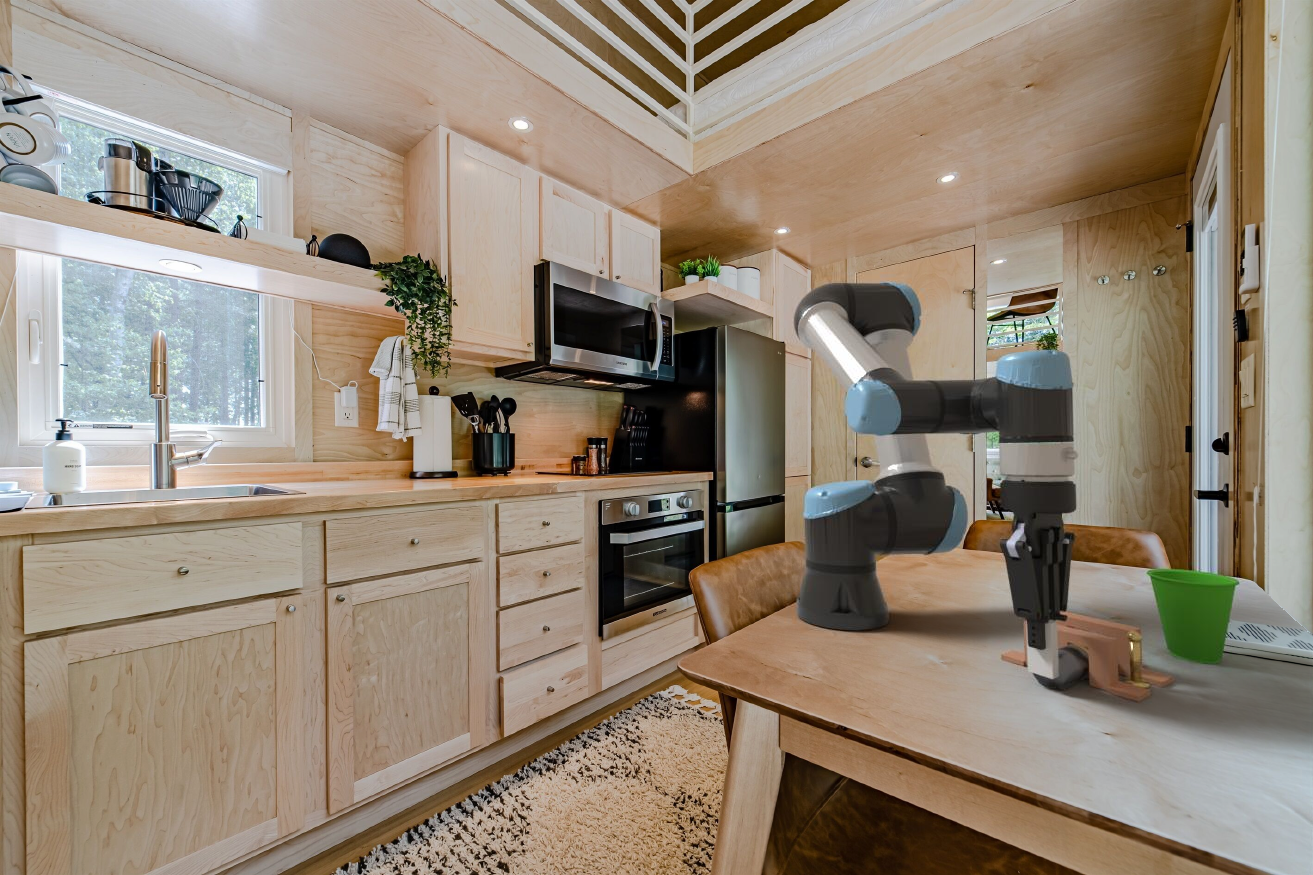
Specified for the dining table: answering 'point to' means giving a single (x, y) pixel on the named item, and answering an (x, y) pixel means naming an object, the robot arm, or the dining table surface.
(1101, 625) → the collar
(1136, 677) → the pointer post
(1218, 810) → the dining table surface
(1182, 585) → the cup
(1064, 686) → the tube
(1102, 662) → the collar
